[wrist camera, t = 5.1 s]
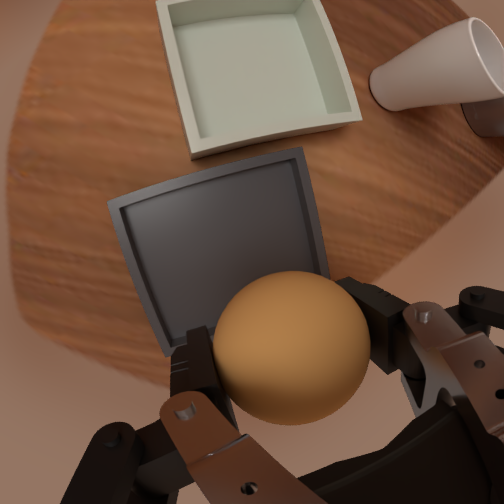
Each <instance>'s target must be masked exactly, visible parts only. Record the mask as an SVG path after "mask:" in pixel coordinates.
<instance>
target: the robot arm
mask: <svg viewBox="0 0 504 504" xmlns="http://www.w3.org/2000/svg"><path fill="white" fill-rule="evenodd" d="M461 104H462V108H463V111H464V114H465V116H466V119H467V121H468V123H469V125H470V126H471V128H472V129H473V131H474V132H475V133H476V134H477V135H479V136H481V137H495V136H504V97H502V98H497V99H492V100H486V101H479V102H469V103H461ZM335 283H336V284H338V285H339V286H341V287H342V288H343V289H344V290H345V291H347V292H348V293H349V294H350V295H351V296H352V298H353V299H354V300H355V302H356V303H357V304H358V306H359V307H360V309H361V311H362V313H363V315H364V317H365V319H366V322H367V325H368V329H369V334H370V342H371V343H370V359H371V360H372V361H373V362H374V363H375V364H376V365H377V366H378V367H379V368H381V369H382V370H383V371H384V372H385V373H386V374H387V375H389V374H390V373H392V372H394V371H396V370H397V369H400V370H401V382H402V384H403V387H404V389H405V392H406V394H407V397H408V399H409V401H410V404H411V406H412V409H413V412H414V414H415V417H416V418H415V419H414V420H412V421H411V422H410V423H409V425H407V426H406V427H405V428H404V429H403V430H402V432H400V433H399V434H398V435H397V436H396V437H395V438H394V439H393V440H392V441H391V442H390V443H389V444H388V445H387V446H385V447H384V448H383V449H381V450H378V451H375V452H372V453H368V454H365V455H361V456H358V457H355V458H351V459H347V460H343V461H339V462H335V463H333V464H331V465H328V466H326V467H324V468H321V469H319V470H317V471H314V472H311V473H309V474H306V475H304V476H301V477H298V478H296V477H295V476H293V475H292V474H291V473H290V472H289V471H288V470H286V469H285V468H284V467H283V466H282V465H281V464H280V463H279V462H278V461H276V460H275V459H274V458H273V457H272V456H271V455H270V454H269V453H268V452H267V451H266V450H264V449H263V448H262V447H261V446H260V445H259V444H258V443H257V442H256V441H255V440H254V439H253V438H252V437H251V436H249V435H248V434H244V435H241V434H240V433H239V429H238V426H237V422H236V419H235V415H234V412H233V409H232V404H231V401H230V397H229V396H228V395H227V393H226V392H225V390H224V388H223V386H222V383H221V381H220V378H219V375H218V372H217V369H216V366H215V362H214V359H213V343H212V340H211V338H210V335H209V332H208V329H207V327H206V325H203V326H200V327H197V328H193V329H190V330H187V331H186V335H187V344H186V345H182V346H178V347H176V349H175V350H174V352H173V354H172V355H171V374H170V398H169V399H168V400H167V401H166V402H165V403H164V404H163V405H162V407H161V409H160V413H159V414H160V419H159V420H157V421H156V422H154V423H152V424H150V425H147V426H145V427H143V428H141V429H138V430H136V431H135V430H134V429H133V427H132V426H131V425H129V424H128V423H125V422H114V423H110V424H108V425H105V426H103V427H102V428H101V429H99V430H98V431H97V432H96V433H95V434H94V436H93V438H92V440H91V441H90V443H89V445H88V447H87V449H86V451H85V453H84V455H83V457H82V459H81V461H80V463H79V465H78V467H77V469H76V471H75V473H74V475H73V477H72V479H71V482H70V484H69V486H68V488H67V490H66V492H65V494H64V496H63V498H62V500H61V503H60V504H176V502H177V497H178V492H179V489H181V488H183V487H185V486H187V485H189V484H191V483H193V482H196V484H197V485H198V487H199V488H200V490H201V491H202V493H203V494H204V496H205V497H206V498H207V500H208V501H209V503H210V504H504V348H501V347H499V346H496V345H494V344H493V343H492V341H491V340H490V339H489V334H490V328H491V326H493V327H496V328H500V329H503V330H504V292H503V291H499V290H495V289H491V288H487V287H482V286H472V287H468V288H466V289H463V290H462V291H461V292H460V294H459V305H456V306H452V307H449V308H446V309H443V308H442V307H441V306H440V305H438V304H436V303H433V302H417V303H414V304H409V303H407V302H405V301H403V300H401V299H399V298H398V297H396V296H394V295H391V294H390V293H389V292H387V291H384V290H383V289H381V288H379V287H377V286H376V285H371V284H366V283H363V284H362V283H360V282H358V281H357V280H355V279H353V278H351V277H346V278H343V279H340V280H338V281H335Z"/></svg>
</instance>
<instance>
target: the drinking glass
mask: <svg viewBox="0 0 504 504" xmlns="http://www.w3.org/2000/svg"><path fill="white" fill-rule="evenodd" d="M369 84H370V89H371V92H372V94H373V96H374V98H375V99H376V101H377V102H378V103H379V104H380V105H381V106H383V107H384V108H386V109H388V110H390V111H401V110H405V109H409V108H416V107H424V106H433V105H443V104H456V103H469V102H479V101H486V100H492V99H497V98H502V97H504V48H503V46H502V44H501V43H500V41H499V39H498V38H497V36H496V35H495V34H494V32H493V31H492V30H491V29H490V28H489V26H488V25H487V24H485V23H484V22H483V21H482V20H480V19H478V18H475V17H471V18H468V19H465V20H462V21H459V22H456V23H453V24H451V25H448V26H446V27H444V28H441V29H439V30H437V31H436V32H434V33H432V34H430V35H429V36H427V37H425V38H424V39H422V40H421V41H419V42H417V43H416V44H414V45H413V46H411V47H409V48H408V49H406V50H405V51H403V52H402V53H400V54H399V55H397V56H396V57H394V58H392V59H391V60H389V61H388V62H386V63H385V64H383V65H381V66H379V67H377V68H375V69H374V70H373V71H372V73H371V75H370V79H369Z"/></svg>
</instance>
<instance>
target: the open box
mask: <svg viewBox="0 0 504 504" xmlns="http://www.w3.org/2000/svg"><path fill="white" fill-rule="evenodd" d="M156 9H157V17H158V25H159V32H160V36H161V41H162V45H163V50H164V54H165V59H166V63H167V68H168V72H169V76H170V80H171V85H172V89H173V93H174V97H175V101H176V105H177V109H178V113H179V117H180V121H181V125H182V129H183V133H184V137H185V141H186V145H187V148H188V152H189V156H190V160H194V159H198V158H201V157H205V156H209V155H213V154H216V153H220V152H224V151H228V150H232V149H236V148H240V147H245V146H249V145H253V144H258V143H263V142H267V141H272V140H277V139H282V138H287V137H292V136H297V135H303V134H309V133H315V132H321V131H327V130H334V129H337V128H340V127H343V126H346V125H349V124H352V123H355V122H358V121H361V120H362V116H361V113H360V109H359V106H358V102H357V99H356V95H355V92H354V89H353V86H352V83H351V79H350V76H349V73H348V70H347V67H346V65H345V62H344V59H343V56H342V53H341V51H340V48H339V45H338V43H337V40H336V37H335V35H334V32H333V30H332V27H331V25H330V23H329V20H328V18H327V15H326V13H325V11H324V9H323V6H322V4H321V2H320V0H158V1H156Z"/></svg>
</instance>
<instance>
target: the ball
mask: <svg viewBox="0 0 504 504" xmlns="http://www.w3.org/2000/svg"><path fill="white" fill-rule="evenodd" d="M370 343H371V342H370V334H369V329H368V325H367V322H366V319H365V317H364V315H363V313H362V311H361V309H360V307H359V306H358V304H357V303H356V302H355V300H354V299H353V298H352V296H351V295H350V294H349V293H348V292H347V291H345V290H344V289H343V288H342V287H341V286H339V285H338V284H336V283H335V282H333V281H331V280H329V279H327V278H325V277H323V276H320V275H317V274H314V273H309V272H302V271H285V272H278V273H274V274H270V275H267V276H264V277H261V278H259V279H257V280H255V281H253V282H251V283H250V284H248V285H247V286H246V287H244V288H243V289H242V290H240V291H239V292H238V293H237V294H236V295H235V296H234V297H233V298H232V299H231V301H230V302H229V303H228V305H227V306H226V308H225V309H224V311H223V312H222V314H221V316H220V318H219V320H218V323H217V326H216V329H215V334H214V339H213V359H214V362H215V366H216V369H217V372H218V375H219V378H220V381H221V383H222V386H223V388H224V390H225V392H226V393H227V395H228V396H229V397H230V398H231V399H232V400H233V402H235V404H237V405H238V406H239V407H240V408H241V409H242V410H244V411H245V412H247V413H248V414H250V415H252V416H253V417H256V418H258V419H260V420H263V421H266V422H269V423H272V424H279V425H301V424H307V423H311V422H314V421H317V420H320V419H323V418H325V417H327V416H328V415H331V414H332V413H334V412H335V411H337V410H338V409H340V408H341V407H342V406H343V405H344V404H345V403H346V402H347V401H348V400H349V399H350V398H351V397H352V396H353V395H354V393H355V392H356V390H357V389H358V388H359V386H360V384H361V383H362V381H363V379H364V376H365V373H366V371H367V367H368V364H369V359H370Z"/></svg>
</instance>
